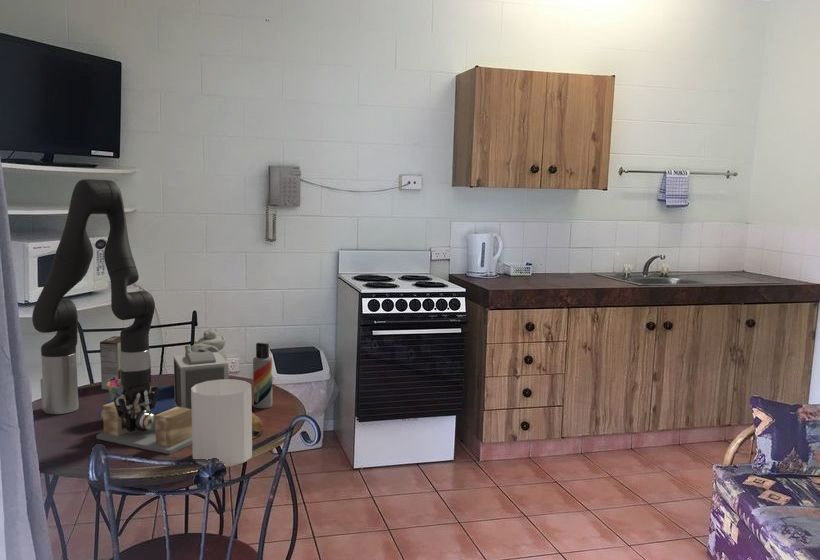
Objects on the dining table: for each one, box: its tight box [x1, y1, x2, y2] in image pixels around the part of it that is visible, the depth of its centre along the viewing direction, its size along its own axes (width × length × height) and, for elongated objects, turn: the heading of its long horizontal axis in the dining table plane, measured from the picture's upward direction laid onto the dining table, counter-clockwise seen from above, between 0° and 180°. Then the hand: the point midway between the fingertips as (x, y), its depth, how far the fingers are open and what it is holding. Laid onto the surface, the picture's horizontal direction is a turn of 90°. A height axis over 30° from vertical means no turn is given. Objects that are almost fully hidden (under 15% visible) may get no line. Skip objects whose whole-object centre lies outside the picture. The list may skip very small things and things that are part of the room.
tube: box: [100, 409, 156, 431], centre depth 187 cm, size 16×5×5 cm, turn 66°
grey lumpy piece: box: [184, 327, 228, 362], centre depth 236 cm, size 16×15×19 cm
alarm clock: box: [173, 351, 230, 409], centre depth 206 cm, size 18×13×18 cm
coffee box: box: [99, 335, 121, 391], centre depth 232 cm, size 9×6×16 cm
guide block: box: [102, 402, 140, 436], centre depth 188 cm, size 5×8×8 cm, turn 156°
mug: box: [106, 379, 123, 403], centre depth 202 cm, size 12×9×11 cm
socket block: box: [154, 406, 192, 447], centre depth 181 cm, size 5×8×8 cm, turn 156°
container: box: [191, 378, 253, 468], centre depth 173 cm, size 14×14×18 cm
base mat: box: [96, 428, 192, 455], centre depth 185 cm, size 25×12×1 cm, turn 66°
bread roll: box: [252, 412, 264, 440], centre depth 190 cm, size 10×10×8 cm
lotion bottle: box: [252, 342, 273, 409], centre depth 214 cm, size 6×6×20 cm
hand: (137, 428), depth 186 cm, fingers closed on tube, 4 cm apart
